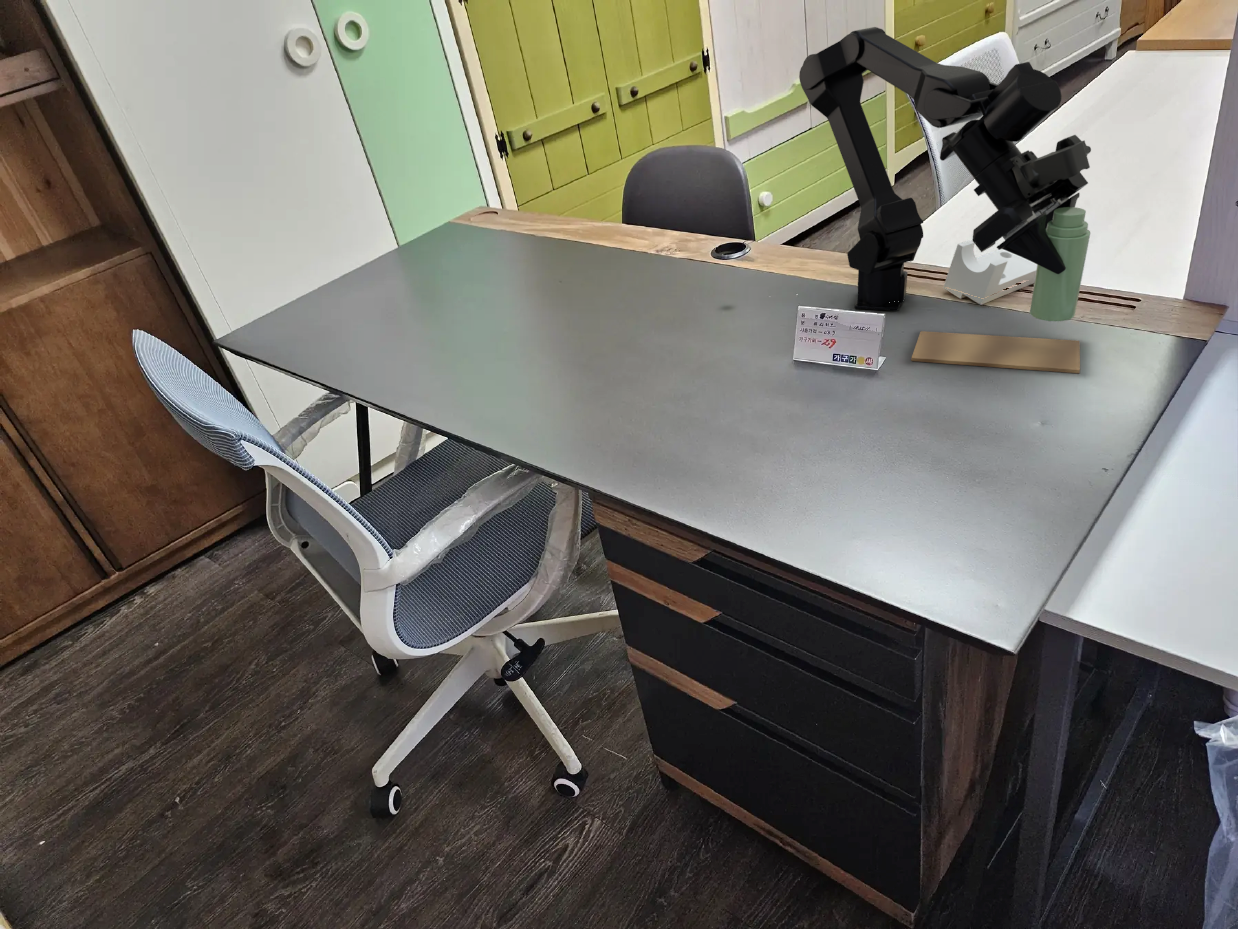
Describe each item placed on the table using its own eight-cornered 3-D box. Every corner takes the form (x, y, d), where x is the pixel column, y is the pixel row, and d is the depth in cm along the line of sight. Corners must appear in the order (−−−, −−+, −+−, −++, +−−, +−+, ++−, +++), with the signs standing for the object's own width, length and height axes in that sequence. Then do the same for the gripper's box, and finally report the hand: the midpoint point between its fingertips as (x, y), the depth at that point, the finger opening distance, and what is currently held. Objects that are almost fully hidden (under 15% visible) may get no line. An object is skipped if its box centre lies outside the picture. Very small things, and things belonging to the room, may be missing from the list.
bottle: (1028, 320, 106) (1045, 217, 99) (1030, 304, 110) (1046, 204, 103) (1075, 322, 104) (1095, 217, 97) (1075, 306, 108) (1094, 204, 101)
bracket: (978, 310, 127) (995, 265, 121) (943, 287, 131) (957, 243, 126) (1035, 286, 132) (1054, 243, 126) (999, 265, 136) (1016, 222, 131)
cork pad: (911, 361, 113) (911, 357, 113) (920, 334, 120) (920, 330, 119) (1079, 373, 105) (1080, 369, 105) (1079, 344, 112) (1079, 340, 111)
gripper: (1011, 134, 92) (1098, 248, 91) (1084, 101, 102) (1163, 203, 101) (938, 198, 102) (1015, 303, 100) (1011, 162, 112) (1083, 257, 110)
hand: (1072, 265), depth 103 cm, fingers closed on bottle, 5 cm apart
